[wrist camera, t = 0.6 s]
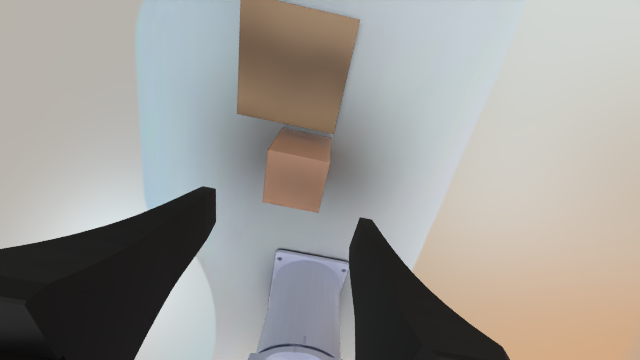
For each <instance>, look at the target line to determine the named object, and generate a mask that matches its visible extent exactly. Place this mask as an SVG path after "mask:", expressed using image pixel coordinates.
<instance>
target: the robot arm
mask: <svg viewBox="0 0 640 360" xmlns="http://www.w3.org/2000/svg"><path fill="white" fill-rule="evenodd" d="M215 223H216V189H214V188H209V187H204V186H203V187H200V188H198V189H196V190H193V191H191V192H189V193H187V194H185V195H183V196H180V197H178V198H176V199H174V200H172V201H170V202H167V203H165V204H163V205H160V206H158V207H156V208H153V209H151V210H148V211H146V212H144V213H141V214H139V215H136V216H133V217H130V218H128V219H125V220H122V221H119V222H116V223H113V224H109V225H106V226H103V227H99V228H95V229H92V230H88V231H85V232H81V233H77V234H73V235H70V236H65V237H61V238H56V239H52V240H47V241H42V242H38V243H32V244H27V245H22V246H16V247H10V248H4V249H0V360H134V359H135V357H136V355H137V353H138V351H139V349H140V347H141V345H142V343H143V341H144V339H145V337H146V335H147V333H148V331H149V329H150V328H151V326H152V324H153V322H154V320H155V319H156V317H157V315H158V313H159V311H160V309H161V308H162V306H163V304H164V302H165V301H166V299H167V297H168V296H169V294H170V292H171V290H172V289H173V287H174V285H175V284H176V282H177V281H178V279H179V278H180V276H181V275H182V274H183V272H184V271H185V269H186V268H187V266H188V265H189V264H190V262H191V261H192V260H193V258H194V257H195V256H196V254H197V253H198V251H199V250H200V248H201V247H202V246H203V244H204V243H205V241H206V240H207V238H208V236H209V234H210V233H211V231H212V229H213V227H214V225H215ZM279 257H281V258H279ZM348 270H350V279H351V288H352V296H353V305H354V315H355V360H510V359H509V357H508V356H507V354H506V352H505V351H504V349H503V347H502V346H500V345H499V344H498V343H496V342H495V341H493V340H492V339H490V338H489V337H487V336H486V335H485V334H483V333H482V332H480V331H479V330H478V329H476V328H475V327H473V326H472V325H471V324H469V323H468V322H467V321H466V320H464V319H463V318H462V317H460V316H459V315H458V314H457V313H455V312H454V311H453V310H452V309H451V308H449V307H448V306H447V305H446V304H445V303H443V302H442V301H441V300H440V299H439V298H438V297H437V296H436V295H434V294H433V293H432V292H431V291H430V290H429V289H428V288H427V287H426V286H425V285H424V284H423V283H422V282H421V281H420V280H419V279H418V278H417V277H416V276H415V275H414V274H413V273H412V272H411V270H410V269H409V268H408V267H407V266H406V265H405V264H404V262H403V261H402V260H401V259H400V258H399V256H398V255H397V254H396V253H395V251H394V250H393V249H392V247H391V246H390V245H389V243H388V242H387V241H386V239H385V238H384V236H383V235H382V234H381V232H380V231H379V229H378V228H377V226H376V225H375V223H374V222H373V221H372V220H371V219H366V218H361V217H360V218H359V221H358V224H357V227H356V230H355V233H354V236H353V238H352V241H351V244H350V247H349V263H348V262H345V261H339V260H334V259H328V258H323V257H318V256H312V255H307V254H301V253H296V252H290V251H285V250H278V251H277V252H276V255H275V262H274V269H273V275H272V282H271V289H270V295H269V302H268V309H267V313H266V317H265V321H264V325H263V329H262V333H261V336H260V340H259V344H258V348H257V352H256V353H251V354H250V355H249V358H248V360H342V359H341V350H340V305H339V295H340V292H341V289H342V286H343V284H344V281H345V278H346V276H347V273H348Z"/></svg>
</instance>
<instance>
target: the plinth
mask: <svg viewBox="0 0 640 360" xmlns="http://www.w3.org/2000/svg"><path fill="white" fill-rule="evenodd" d="M359 23H360V20H358V19H354V18H350V17H346V16H341V15H337V14H333V13H328V12H324V11H320V10H316V9H311V8H307V7H303V6H298V5H294V4H290V3H286V2H281V1H277V0H241V5H240V37H239V70H238V103H237V114H241V115H246V116H250V117H255V118H260V119H265V120H270V121H274V122H279V123H284V124H289V125H294V126H298V127H303V128H308V129H313V130H317V131H322V132H327V133H332V134H334V130H335V126H336V122H337V117H338V113H339V109H340V104H341V100H342V96H343V91H344V87H345V83H346V79H347V74H348V70H349V66H350V61H351V57H352V53H353V48H354V44H355V40H356V35H357V31H358V27H359Z"/></svg>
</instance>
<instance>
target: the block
mask: <svg viewBox="0 0 640 360" xmlns="http://www.w3.org/2000/svg"><path fill="white" fill-rule="evenodd" d="M330 152H331V138H329V137H324V136H319V135H314V134H309V133H305V132H300V131H295V130H290V129H285V128H282V130H281V131H280V133H279V134H278V136H277V137H276V139H275V140H274V142H273V143H272V144H271V146H270V147H269V149H268V153H267V163H266V173H265V183H264V193H263V202H265V203H270V204H275V205H281V206H286V207H291V208H296V209H301V210H307V211H312V212H317V213H318V211H319V207H320V203H321V199H322V195H323V190H324V186H325V182H326V178H327V174H328V170H329V165H330Z"/></svg>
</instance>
